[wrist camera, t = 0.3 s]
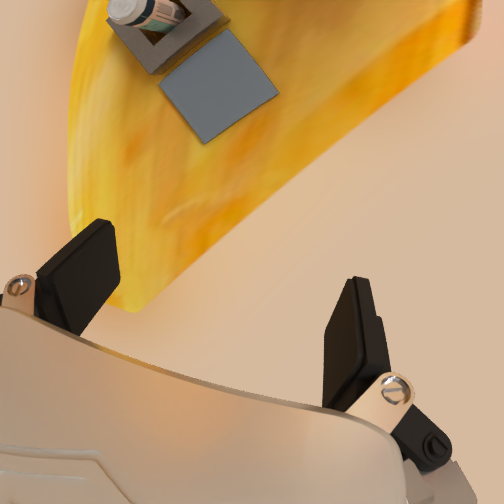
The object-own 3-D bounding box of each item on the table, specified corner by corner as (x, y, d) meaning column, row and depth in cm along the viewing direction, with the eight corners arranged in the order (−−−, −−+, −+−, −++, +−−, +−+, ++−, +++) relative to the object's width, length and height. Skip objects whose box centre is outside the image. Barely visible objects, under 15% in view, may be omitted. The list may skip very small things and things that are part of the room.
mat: (229, 29, 30) (227, 28, 29) (279, 93, 34) (278, 93, 33) (160, 83, 35) (158, 84, 34) (206, 143, 39) (204, 144, 38)
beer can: (173, -2, 28) (126, -23, 18) (193, 17, 29) (150, -2, 19) (148, 21, 30) (96, 10, 20) (168, 40, 31) (118, 31, 21)
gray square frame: (181, -32, 25) (170, -39, 22) (230, 20, 29) (223, 14, 26) (119, 22, 30) (105, 20, 27) (161, 74, 34) (149, 74, 31)
